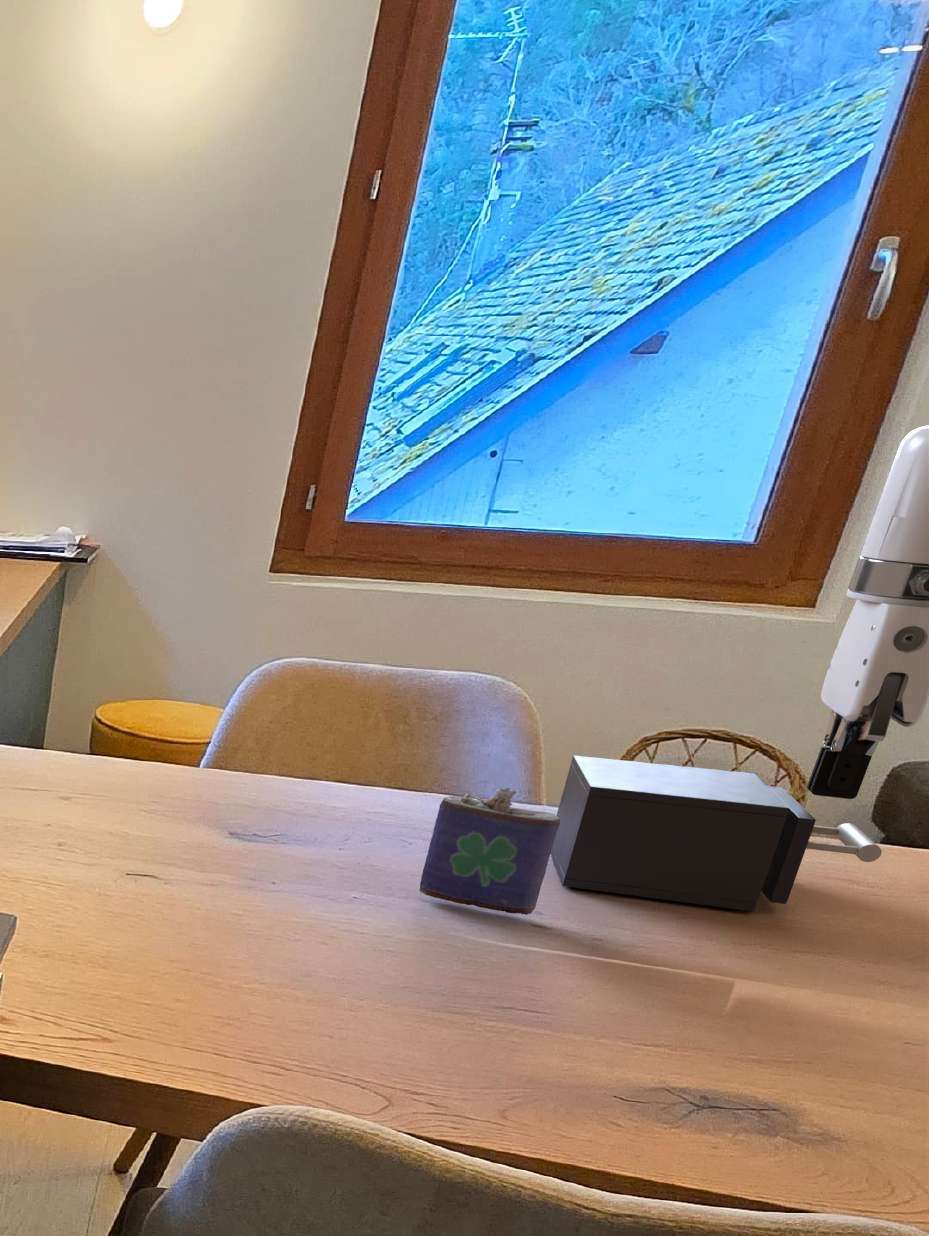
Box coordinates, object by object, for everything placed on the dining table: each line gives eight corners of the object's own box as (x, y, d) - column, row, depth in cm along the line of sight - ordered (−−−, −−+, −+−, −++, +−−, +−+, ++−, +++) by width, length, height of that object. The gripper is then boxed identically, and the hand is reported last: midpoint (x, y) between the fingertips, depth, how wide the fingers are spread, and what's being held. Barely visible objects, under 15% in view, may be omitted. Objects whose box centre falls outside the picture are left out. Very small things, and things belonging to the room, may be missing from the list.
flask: (535, 908, 122) (569, 794, 117) (530, 919, 120) (564, 803, 115) (421, 884, 127) (448, 774, 122) (414, 894, 125) (441, 783, 120)
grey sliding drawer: (832, 875, 128) (861, 795, 125) (869, 915, 119) (901, 829, 116) (589, 845, 136) (611, 769, 133) (605, 880, 126) (630, 799, 123)
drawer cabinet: (723, 870, 132) (755, 773, 128) (754, 911, 122) (790, 808, 118) (547, 848, 138) (573, 755, 134) (562, 886, 128) (590, 786, 124)
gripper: (1002, 599, 107) (911, 823, 114) (935, 576, 119) (858, 780, 126) (880, 591, 110) (800, 810, 117) (828, 569, 122) (758, 769, 129)
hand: (830, 794), depth 121 cm, fingers closed
